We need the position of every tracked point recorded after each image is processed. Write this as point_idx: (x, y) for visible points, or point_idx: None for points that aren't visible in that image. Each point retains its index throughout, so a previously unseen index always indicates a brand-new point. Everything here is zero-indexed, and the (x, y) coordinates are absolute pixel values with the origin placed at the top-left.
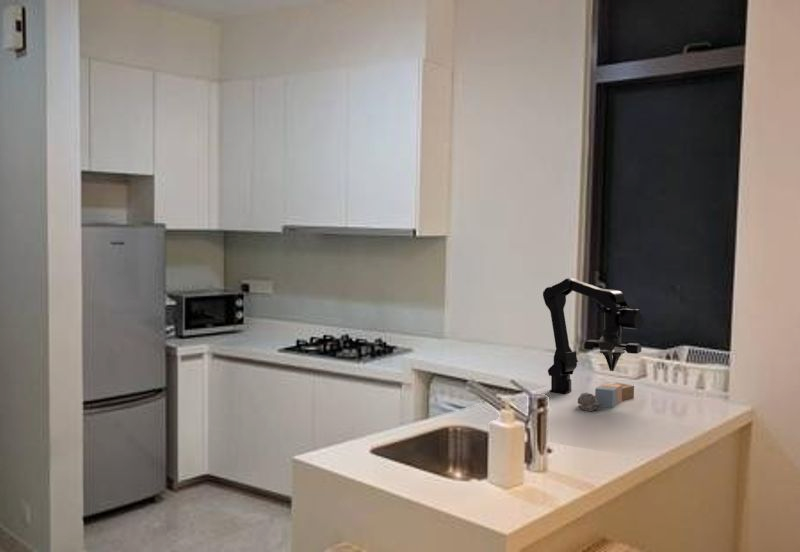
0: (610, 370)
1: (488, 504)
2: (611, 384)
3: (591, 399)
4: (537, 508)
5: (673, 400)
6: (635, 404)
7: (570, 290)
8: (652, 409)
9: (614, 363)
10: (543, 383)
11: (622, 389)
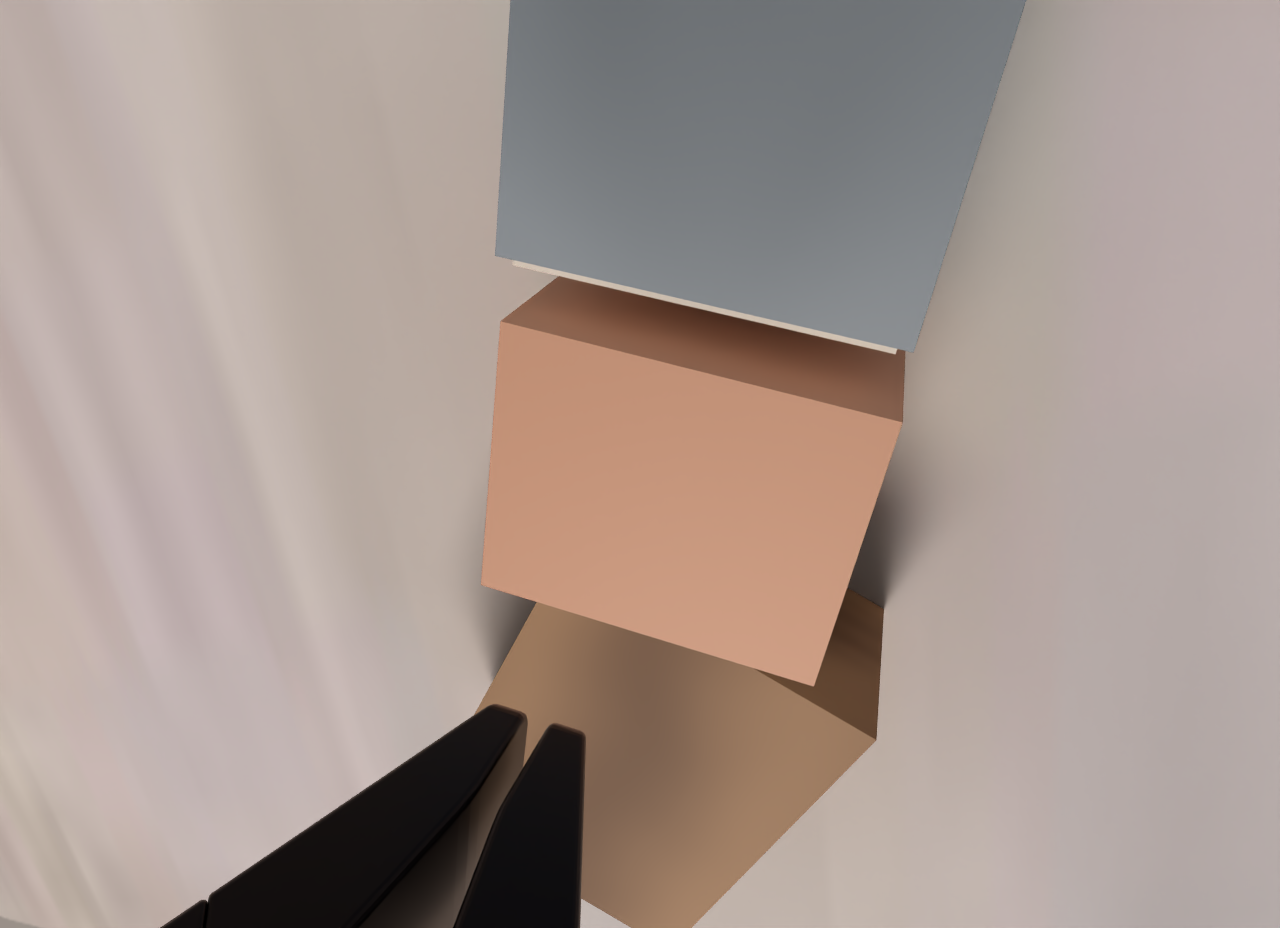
0: (565, 727)
1: None
2: (671, 581)
3: None
4: None
5: (121, 638)
6: (384, 323)
7: None
8: (112, 88)
9: (267, 871)
10: None
11: (533, 610)
